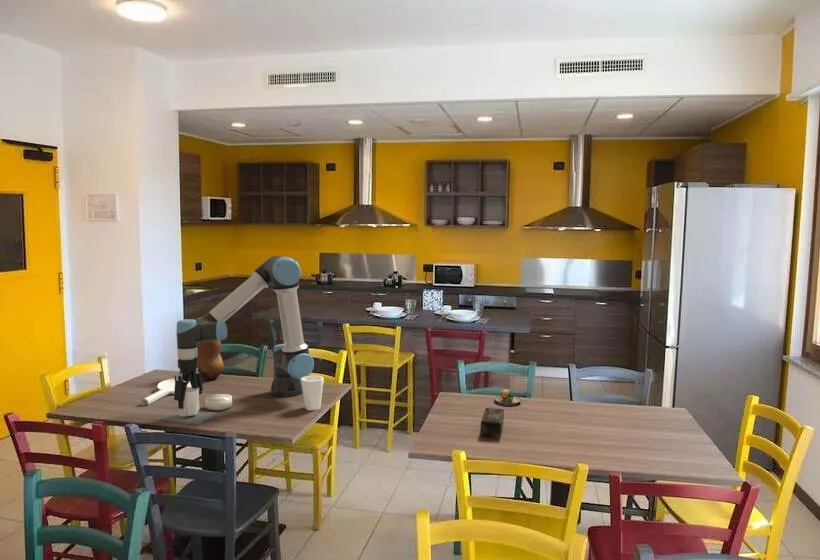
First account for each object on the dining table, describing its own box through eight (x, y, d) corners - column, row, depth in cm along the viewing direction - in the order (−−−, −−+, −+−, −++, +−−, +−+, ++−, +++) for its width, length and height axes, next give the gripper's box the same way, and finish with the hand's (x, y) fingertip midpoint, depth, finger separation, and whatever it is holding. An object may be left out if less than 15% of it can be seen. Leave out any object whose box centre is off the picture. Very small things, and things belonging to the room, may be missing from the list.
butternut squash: (228, 375, 309) (227, 328, 306) (217, 382, 295) (215, 332, 293) (202, 374, 310) (201, 327, 308) (190, 381, 297) (189, 332, 295)
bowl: (237, 405, 258) (237, 394, 258) (222, 413, 248) (221, 401, 247) (215, 403, 261) (215, 392, 261) (199, 410, 251) (199, 399, 251)
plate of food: (520, 407, 257) (520, 390, 256) (493, 406, 259) (493, 389, 258) (521, 399, 268) (521, 383, 268) (494, 398, 271) (495, 382, 270)
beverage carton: (504, 422, 237) (504, 407, 236) (500, 439, 219) (501, 422, 218) (484, 421, 239) (485, 405, 238) (479, 438, 221) (479, 421, 220)
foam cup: (328, 408, 255) (327, 378, 254) (310, 413, 248) (310, 382, 247) (314, 403, 261) (314, 374, 260) (297, 408, 255) (296, 378, 253)
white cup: (192, 417, 238) (192, 392, 237) (175, 415, 239) (174, 391, 238) (203, 411, 245) (202, 387, 244) (186, 409, 247) (185, 386, 246)
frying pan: (164, 411, 256) (164, 401, 256) (125, 406, 260) (125, 396, 260) (208, 386, 290) (208, 377, 290) (173, 381, 294) (173, 372, 293)
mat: (218, 414, 246) (218, 412, 246) (197, 425, 233) (197, 423, 233) (182, 410, 252) (182, 408, 252) (159, 420, 239) (159, 418, 239)
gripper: (196, 351, 251) (198, 404, 253) (162, 362, 232) (164, 419, 234) (211, 353, 249) (212, 406, 251) (178, 364, 229) (180, 421, 232)
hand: (189, 412), depth 242 cm, fingers closed on white cup, 7 cm apart
